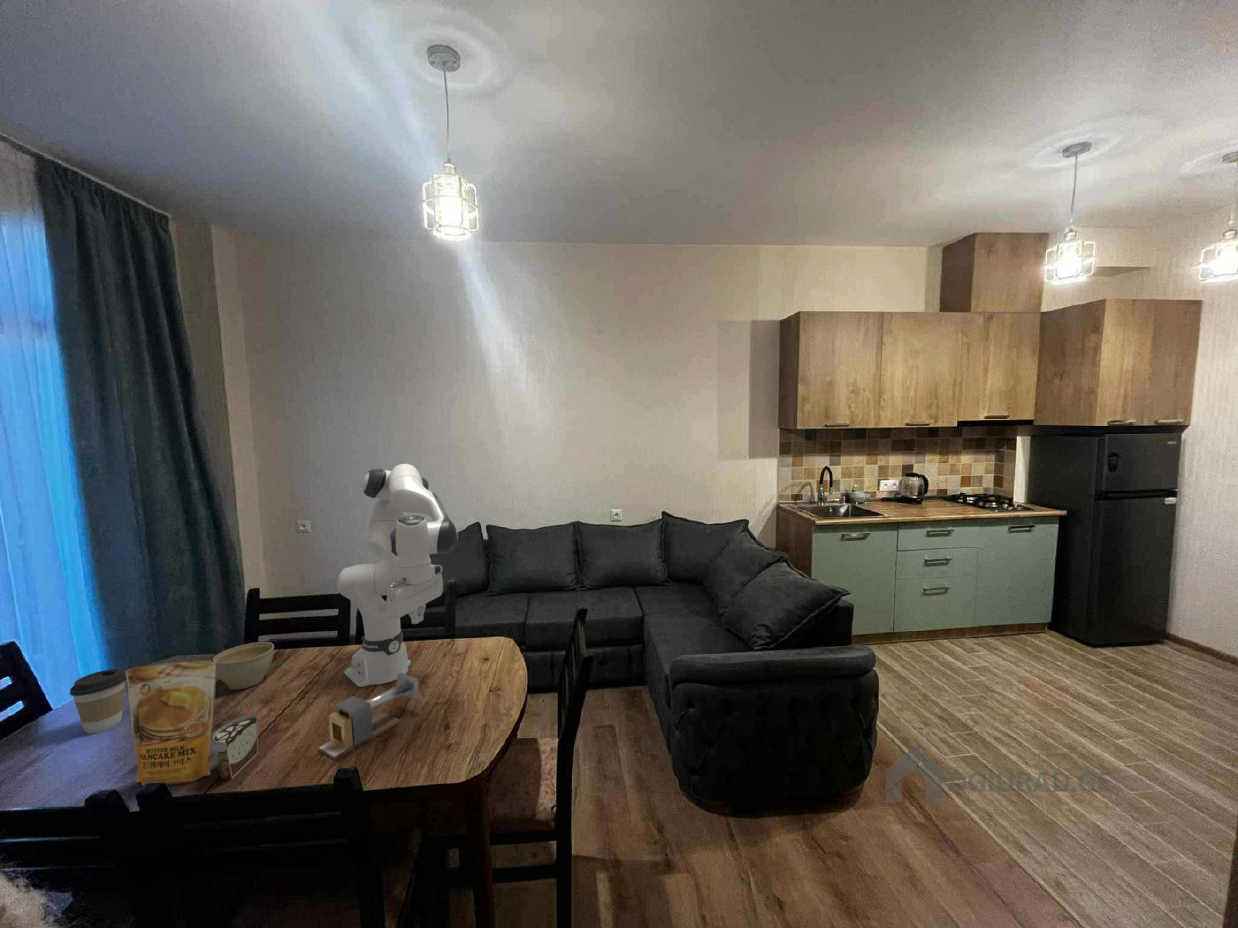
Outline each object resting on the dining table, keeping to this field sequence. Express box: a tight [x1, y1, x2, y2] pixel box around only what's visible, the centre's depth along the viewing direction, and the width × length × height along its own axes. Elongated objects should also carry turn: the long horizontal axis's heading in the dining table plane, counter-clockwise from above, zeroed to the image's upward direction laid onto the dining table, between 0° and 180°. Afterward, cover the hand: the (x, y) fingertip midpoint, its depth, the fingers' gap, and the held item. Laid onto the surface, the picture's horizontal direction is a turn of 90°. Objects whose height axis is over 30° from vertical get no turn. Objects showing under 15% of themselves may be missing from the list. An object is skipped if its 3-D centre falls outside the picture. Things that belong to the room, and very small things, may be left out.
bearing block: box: [335, 695, 374, 749], centre depth 129 cm, size 8×5×10 cm, turn 59°
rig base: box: [318, 711, 401, 761], centre depth 130 cm, size 8×18×1 cm, turn 149°
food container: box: [210, 714, 260, 780], centre depth 119 cm, size 12×6×10 cm, turn 5°
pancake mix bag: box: [123, 659, 218, 787], centre depth 116 cm, size 7×19×28 cm, turn 96°
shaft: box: [366, 673, 419, 712], centre depth 135 cm, size 8×18×6 cm, turn 149°
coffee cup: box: [69, 668, 126, 735], centre depth 138 cm, size 11×11×15 cm
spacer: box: [328, 711, 353, 750], centre depth 125 cm, size 7×2×7 cm, turn 59°
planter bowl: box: [212, 641, 275, 690], centre depth 161 cm, size 16×16×11 cm
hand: (417, 621), depth 134 cm, fingers closed
